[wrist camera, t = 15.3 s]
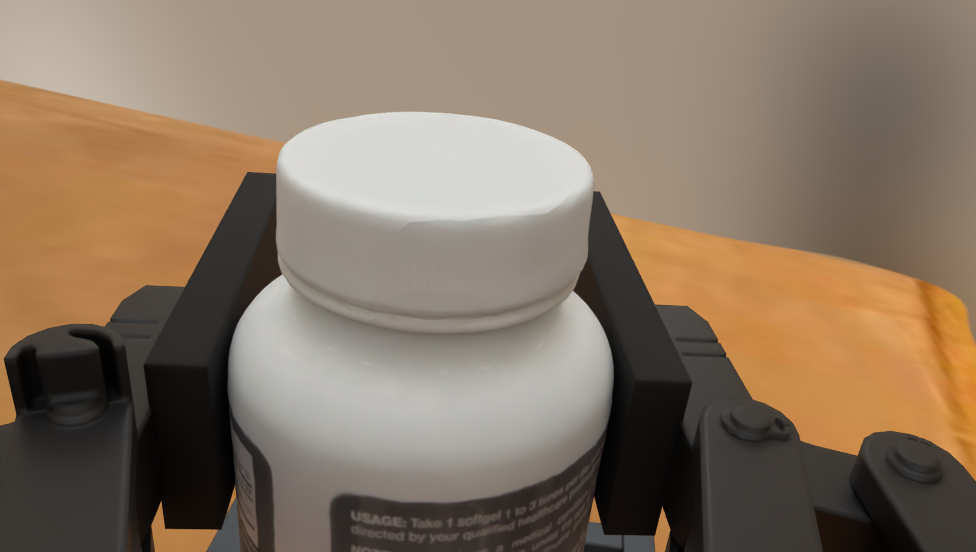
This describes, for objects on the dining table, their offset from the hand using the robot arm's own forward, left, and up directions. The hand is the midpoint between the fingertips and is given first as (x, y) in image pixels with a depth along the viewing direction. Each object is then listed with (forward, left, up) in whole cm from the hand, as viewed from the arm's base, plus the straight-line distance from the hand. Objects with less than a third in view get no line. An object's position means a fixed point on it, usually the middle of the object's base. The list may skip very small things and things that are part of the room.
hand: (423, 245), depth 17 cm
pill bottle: (+1, -5, -6) cm, 8 cm away
